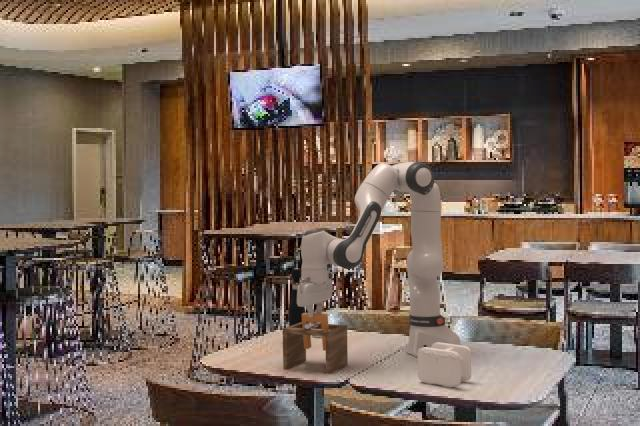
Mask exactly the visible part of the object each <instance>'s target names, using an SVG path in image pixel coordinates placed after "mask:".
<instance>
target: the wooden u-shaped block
mask: <svg viewBox="0 0 640 426" xmlns="http://www.w3.org/2000/svg"><path fill="white" fill-rule="evenodd" d="M301 315H302V327H303V329H304V325H306V324H308V323H311V322H321V330H328V331H330V330H329V326H328V324H329V316H328V313H326V314H319V313H315V314H314V315H315V316H314V317H312V318H311V317H308V312H305V313H303V314H301ZM311 339H312V335H303V340H304V349H306V350H309V349H311V348H312V341H311ZM321 341H322V343H321V344H322V351H325V352H326V342H325V337H324V336H322V338H321Z"/></svg>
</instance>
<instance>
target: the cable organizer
mask: <svg viewBox="0 0 640 426" xmlns="http://www.w3.org/2000/svg"><path fill="white" fill-rule="evenodd" d="M417 377H418V379H419V380H420V381H421V382H424V384H427V385H432V384H433V385H440V386H441V387H444V388H450V389H451V388H454V387H458V386H460V384H461V383H465V382H466V381H467V382H468V381H469V380H471V379H472V350H471V349H470V348H469V347H468V346H467V345H462V344H461V345H455V344H448V343H440V342H437V343H434V344H433V345H432V347H431V348H429V347H423V348H420V349H419V350H418V357H417Z"/></svg>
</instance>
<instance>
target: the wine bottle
mask: <svg viewBox="0 0 640 426" xmlns="http://www.w3.org/2000/svg"><path fill="white" fill-rule="evenodd" d="M290 271H291V279H293V280H292V281H293V282H292V289H291V299H290V301H289V305H288V327H289V326H292V325H295V324H297V323H300V322H302V315H301V314H303V313H306V307H300V306H298V305H297V289H298V286H299V284H300V282H301V280H300V279H302V270H301V268H292V269H291V270H290Z"/></svg>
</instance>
